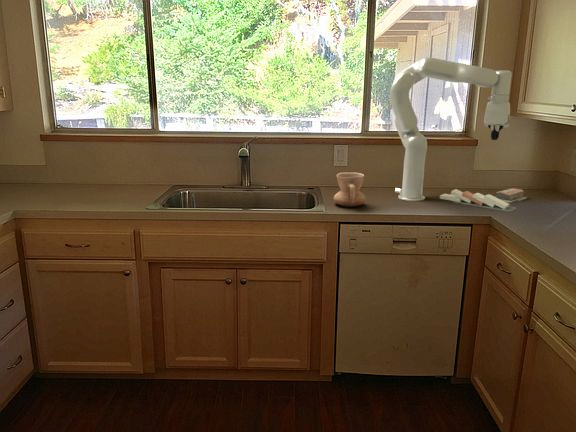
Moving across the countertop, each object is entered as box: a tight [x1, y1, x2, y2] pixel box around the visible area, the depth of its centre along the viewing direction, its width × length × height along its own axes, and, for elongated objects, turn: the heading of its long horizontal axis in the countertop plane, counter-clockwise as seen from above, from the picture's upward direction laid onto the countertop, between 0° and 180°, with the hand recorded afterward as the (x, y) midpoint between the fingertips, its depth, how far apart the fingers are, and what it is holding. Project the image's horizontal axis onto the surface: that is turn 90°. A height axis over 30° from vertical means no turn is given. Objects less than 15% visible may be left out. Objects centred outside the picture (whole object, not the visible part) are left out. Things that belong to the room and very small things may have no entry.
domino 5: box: [483, 194, 510, 209], centre depth 207 cm, size 2×5×10 cm
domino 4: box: [473, 192, 497, 207], centre depth 210 cm, size 2×5×10 cm
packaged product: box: [494, 187, 528, 203], centre depth 225 cm, size 18×5×10 cm
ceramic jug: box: [333, 172, 366, 208], centre depth 209 cm, size 18×14×14 cm
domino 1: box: [439, 193, 464, 202], centre depth 221 cm, size 2×5×10 cm
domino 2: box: [449, 188, 473, 203], centre depth 217 cm, size 2×5×10 cm
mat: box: [452, 201, 518, 213], centre depth 211 cm, size 26×10×1 cm, turn 47°
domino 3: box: [462, 190, 485, 205], centre depth 214 cm, size 2×5×10 cm
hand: (494, 139), depth 214 cm, fingers closed
